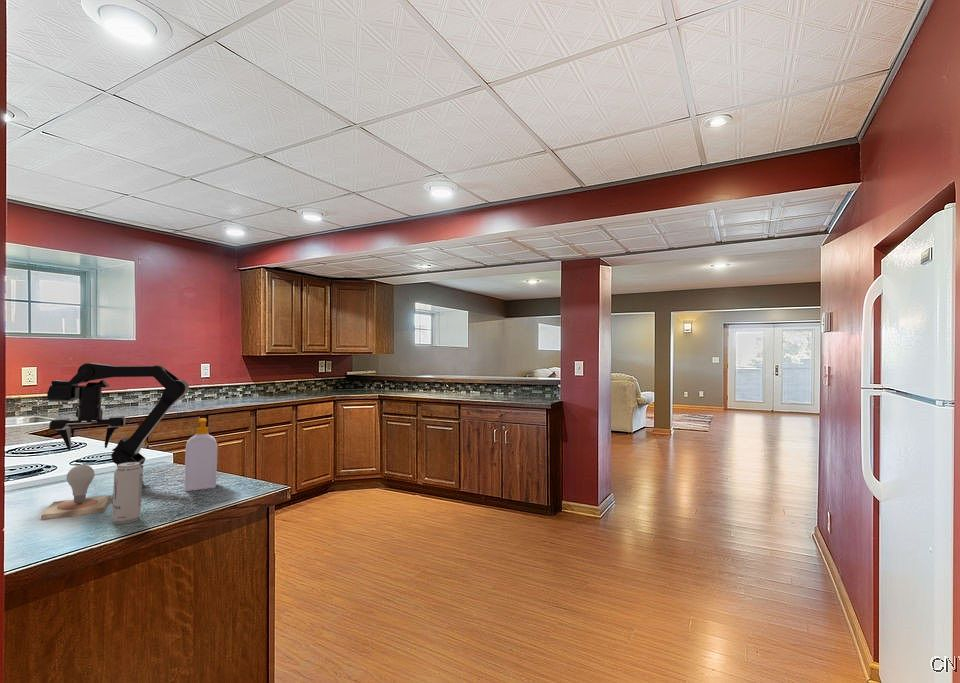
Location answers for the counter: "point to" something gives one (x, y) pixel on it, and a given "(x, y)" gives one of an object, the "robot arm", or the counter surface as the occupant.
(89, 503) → the birch board
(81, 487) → the lightbulb
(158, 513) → the counter surface
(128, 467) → the energy drink can
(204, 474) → the soap bottle
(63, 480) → the counter surface
